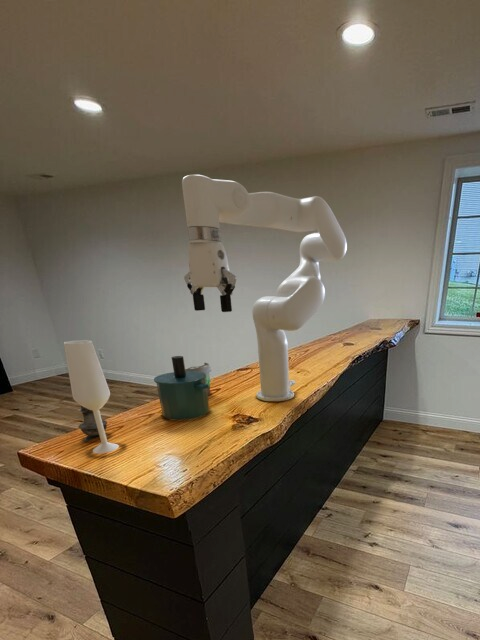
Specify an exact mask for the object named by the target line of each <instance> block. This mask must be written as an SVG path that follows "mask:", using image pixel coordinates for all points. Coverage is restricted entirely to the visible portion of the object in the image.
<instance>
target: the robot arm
mask: <svg viewBox="0 0 480 640" xmlns="http://www.w3.org/2000/svg"><path fill="white" fill-rule="evenodd" d="M181 188H182V195H183V196H182V197H183V203H184V211H185V219H186V220H185V221H186V226H187V234H188V235H187V236H188V242H189V243H188V267H189V268H188V269H189V272H188V273H186V274H185V275H184V277H183V279H184V281H185V283H186V287H187V289H188V290H189V293H190V295H192V301H193V308H194V311H196V312H197V311H205V310H206V305H205V297H204V294H202V293H203V290H204V289H205V288H217V290H218V291H219V292H220V295H219V300H220V310H221V311H220V312H222V313H231V312H233V307H232V297H231V296H232V295H233V291H234V290H235V288H236V283H237V279H238V277H237V276H236V274H234V273H232V272H231V271H230V265H229V260H228V255H227V251H226V247H225V245H224V243H222V237H223V232H222V230H221V227H220V223H221V224H223V223H224V224H229V225H237V226H238V225H239V226H247V227H249V226H251V227H257V228H270V229H277V230H282V231H289V232H295V233H306V232H311V233H309V234H307V235H305V236H304V237H303V238H302V240H301V241H300V244H299V265H298V267H297V268H296V269H295V270H294V271H293V272H291V274H290V275H288V276H287V277H286V278H285V279H284V280H283V281H282V282H281V283H280V284H279V286H278V287H277V290H276V295H265V296H262V297H259V298H258V299H256V301H255V302H254V303H253V306H252V310H251V311H252V312H251V313H252V319H253V324H254V327H255V332H256V341H257V353H258V368H259V370H258V371H259V384H260V390H259V391H257V392H256V394H255V395H256V399H258V400H260V401H264V402H272V403H273V402H282V401H283V402H284V401H289V400H291V399H293V398H294V397H295V392H294V391H293V390H292V389H291V387H295V385H297V382H296V380H295V379H291V380H290V369H289V367H290V365H289V342H288V338H287V334H286V332H285V331H287V332H295V331H298V330H299V329H301V328H302V327H303V326H304V325H305V324H306V323H307V322H309V320H310V319H311V318H312V317H313V316H314V315H315V314H316V313H317V312H318V311H319V309H320V308H321V307H322V305H323V303H324V301H325V297H326V288H325V285H324V282H322V281H321V280H322V276H321V271H320V262H322V263H323V262H336V261H339V260H342V259H343V258H344V257H345V256H346V254H347V250H348V243H347V238H346V235H345V233H344V231H343V229H342V227H341V225H340V222H339V221H338V220H337V217H336V215H335V214H334V212H333V210H332V209H331V207H330V205H329V204H328V203H327V201H326V200H325V199H324V198H323V197H321V196H318V195H313V196H309V197H304V198H295V197H293V196H292V197H291V196H289V195H285V194H280V193H277V192H273V191H259V192H248V190H247V189H246V188H245V186H244V185H243V184H241V183H240V182H238V181H235V180H228V179H227V180H226V179H214V178H211V177H208V176H206V175H203V174H188V175H185V176H184V177H183V178H182V180H181ZM314 231H316V232H314Z"/></svg>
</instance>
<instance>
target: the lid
mask: <svg viewBox="0 0 480 640" xmlns="http://www.w3.org/2000/svg"><path fill="white" fill-rule="evenodd" d="M171 363H172V369H173V370H172V371H173V372H167V373H163V374H159V375H156V376H154V378H153V382H154V383H156V384H157V383H158V384H164V385H181V384H189V383H195V382H199V381H202V380H204V379H205V378H206V374H204V373H201V372H194V371H185V369H186V366H185V358H184V356H182V355H173V356H171Z"/></svg>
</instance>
